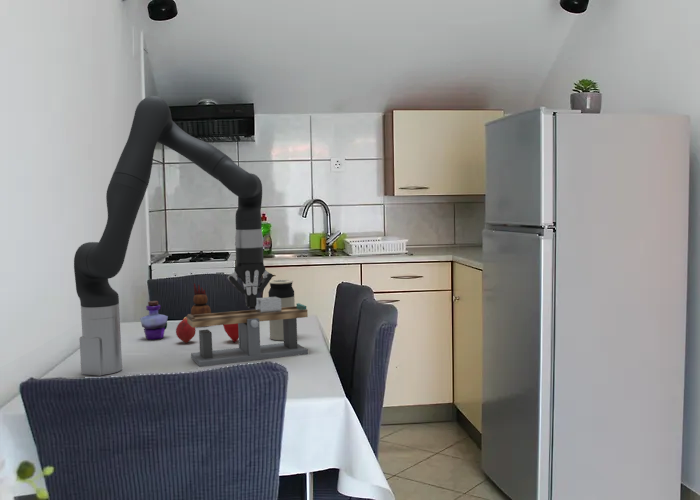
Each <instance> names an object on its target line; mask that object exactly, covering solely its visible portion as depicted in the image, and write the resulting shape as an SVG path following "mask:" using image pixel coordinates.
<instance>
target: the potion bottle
mask: <svg viewBox="0 0 700 500" xmlns="http://www.w3.org/2000/svg"><path fill="white" fill-rule="evenodd" d="M161 308H162V307H161V304H159V301H158V300H152V301H147V305H146V307H145V309H146V311H148V315H145V316H142V317H140V318H139V320H140V323H141V327H142V328H143V332H144V336H145V339H148V340H147V341H158V340H163V339H164V338H165V337H164V335H165V331H166V329H167V328H168V319H169V318H168V317H169V316H168V315H165V314H160V313H159V310H162V309H161Z"/></svg>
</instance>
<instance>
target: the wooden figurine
mask: <svg viewBox="0 0 700 500" xmlns="http://www.w3.org/2000/svg"><path fill="white" fill-rule="evenodd" d="M196 285H198V286H196ZM193 290H194V291H193V293H194V295H193V298H192V300H193V305H192V307H191V310H190V314H191V315H197V314H209V313H212V309H211V306H209V304H207V303H208V301H209V299H208V296H207V293H206V289H203V287H200V284H196V283H193Z"/></svg>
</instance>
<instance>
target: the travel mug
mask: <svg viewBox="0 0 700 500" xmlns="http://www.w3.org/2000/svg"><path fill="white" fill-rule="evenodd" d="M293 282H294V280H292V279H271V280H270V281H269V283H268V284H269V290H268V292H267V293H268V297H278V298H280V299H281V307H293V306H296V305H295V302H296V301H295V290H294V288H293ZM268 323H269V339H271V340H273V341H280V342H281V341H283V342H284V334H283V319H281V320H270V321H268Z"/></svg>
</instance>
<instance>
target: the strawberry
mask: <svg viewBox="0 0 700 500" xmlns="http://www.w3.org/2000/svg"><path fill="white" fill-rule="evenodd" d="M230 312H233V311H232V310H230ZM222 326H223V329H224V331H225V333H226V334H227V336H228V338H230V339H231V341H232V342H233V343H236V342H237V341H239V334H238V323H237V324H226V325H222Z"/></svg>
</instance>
